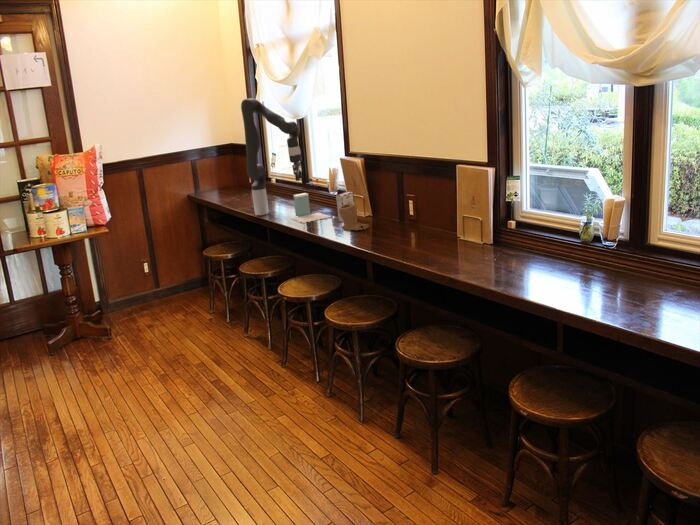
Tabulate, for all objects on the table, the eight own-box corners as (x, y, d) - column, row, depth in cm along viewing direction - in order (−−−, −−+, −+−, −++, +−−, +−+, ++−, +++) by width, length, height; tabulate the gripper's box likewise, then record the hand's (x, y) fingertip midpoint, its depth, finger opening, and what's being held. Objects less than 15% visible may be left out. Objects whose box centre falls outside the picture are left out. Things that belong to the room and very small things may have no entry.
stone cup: (336, 230, 356) (333, 205, 351) (350, 226, 364) (348, 200, 359) (355, 233, 345) (353, 207, 341) (369, 228, 353) (367, 203, 349)
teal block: (295, 216, 402) (293, 195, 398) (306, 214, 405) (304, 192, 401) (299, 217, 397) (296, 195, 393) (310, 215, 401) (308, 193, 397)
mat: (291, 219, 394) (291, 218, 394) (318, 213, 404) (318, 212, 403) (303, 223, 380) (302, 222, 380) (331, 217, 389) (331, 216, 389)
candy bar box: (349, 217, 385) (346, 191, 380) (355, 218, 382) (353, 191, 377) (338, 221, 376) (335, 195, 372) (344, 222, 373) (342, 195, 369)
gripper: (291, 153, 399) (296, 178, 403) (286, 156, 385) (291, 182, 389) (303, 152, 397) (307, 177, 401) (298, 154, 384) (302, 180, 388)
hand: (299, 179), depth 395 cm, fingers open, 8 cm apart
